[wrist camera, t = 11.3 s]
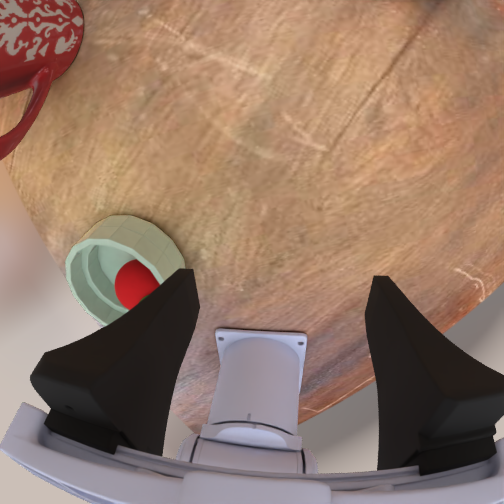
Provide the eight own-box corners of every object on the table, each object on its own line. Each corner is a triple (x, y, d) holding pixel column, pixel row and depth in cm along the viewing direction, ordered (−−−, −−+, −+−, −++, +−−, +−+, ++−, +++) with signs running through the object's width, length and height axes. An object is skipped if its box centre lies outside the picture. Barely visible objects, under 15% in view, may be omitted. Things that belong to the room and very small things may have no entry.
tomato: (159, 274, 26) (181, 310, 24) (117, 294, 25) (135, 333, 22) (148, 240, 23) (171, 277, 21) (101, 262, 22) (118, 303, 19)
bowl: (195, 308, 27) (183, 342, 23) (106, 299, 28) (88, 328, 24) (179, 211, 22) (158, 240, 19) (78, 213, 23) (50, 238, 20)
